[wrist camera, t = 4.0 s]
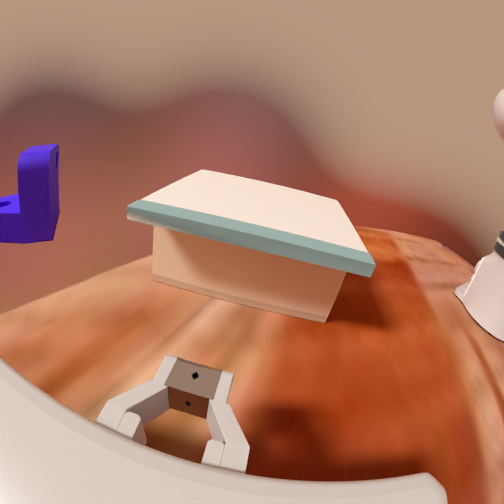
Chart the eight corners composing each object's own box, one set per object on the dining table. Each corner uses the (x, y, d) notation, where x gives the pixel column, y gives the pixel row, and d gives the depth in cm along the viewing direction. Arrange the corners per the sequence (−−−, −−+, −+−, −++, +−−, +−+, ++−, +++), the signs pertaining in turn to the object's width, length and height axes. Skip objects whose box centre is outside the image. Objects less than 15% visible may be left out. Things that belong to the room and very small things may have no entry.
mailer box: (197, 229, 40) (204, 178, 37) (316, 257, 39) (331, 207, 36) (152, 279, 27) (154, 207, 23) (324, 322, 26) (353, 254, 23)
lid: (200, 176, 37) (201, 169, 36) (335, 207, 36) (337, 200, 35) (126, 219, 20) (127, 205, 19) (370, 277, 19) (375, 264, 18)
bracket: (59, 212, 37) (59, 142, 31) (53, 240, 29) (49, 151, 24) (-24, 223, 27) (-30, 155, 22) (-46, 253, 19) (-58, 171, 14)
